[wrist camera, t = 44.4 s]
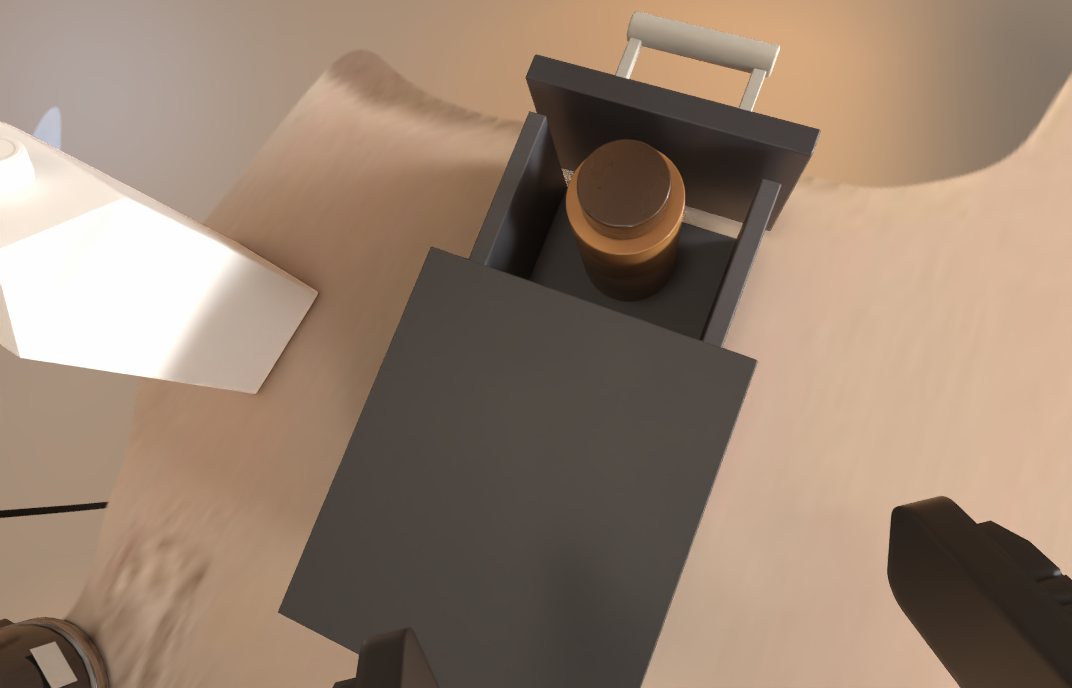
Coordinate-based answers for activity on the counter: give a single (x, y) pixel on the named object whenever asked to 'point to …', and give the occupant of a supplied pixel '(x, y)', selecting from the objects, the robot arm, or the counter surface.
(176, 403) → the counter surface
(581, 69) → the drawer
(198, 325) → the milk carton
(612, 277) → the pepper mill
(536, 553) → the small drawer unit
